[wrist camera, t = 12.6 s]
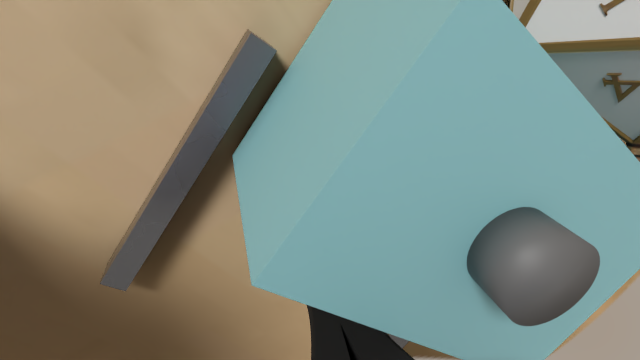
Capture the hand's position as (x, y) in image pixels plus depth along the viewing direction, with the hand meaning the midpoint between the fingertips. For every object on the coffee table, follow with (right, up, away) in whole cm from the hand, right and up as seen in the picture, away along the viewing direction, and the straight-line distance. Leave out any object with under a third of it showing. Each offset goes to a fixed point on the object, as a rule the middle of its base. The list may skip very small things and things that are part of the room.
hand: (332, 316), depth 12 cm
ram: (+2, +6, +2) cm, 6 cm away
